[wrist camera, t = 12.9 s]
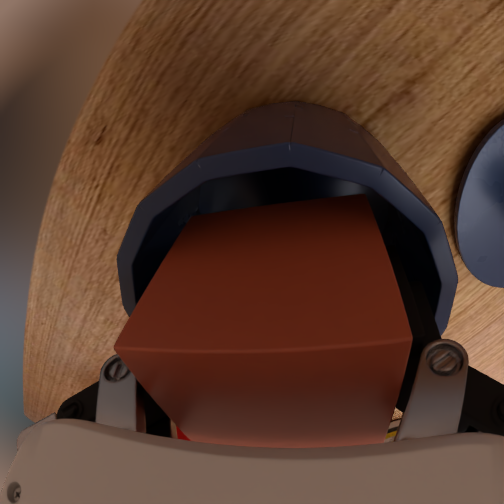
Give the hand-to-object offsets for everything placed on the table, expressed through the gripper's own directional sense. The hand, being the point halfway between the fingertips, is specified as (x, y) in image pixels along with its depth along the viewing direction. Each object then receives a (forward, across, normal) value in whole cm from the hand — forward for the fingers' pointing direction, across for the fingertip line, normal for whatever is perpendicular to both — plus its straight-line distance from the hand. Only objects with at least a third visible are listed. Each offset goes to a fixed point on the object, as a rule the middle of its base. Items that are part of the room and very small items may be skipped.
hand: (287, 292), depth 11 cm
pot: (+7, 0, 0) cm, 7 cm away
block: (+1, 0, 0) cm, 1 cm away
